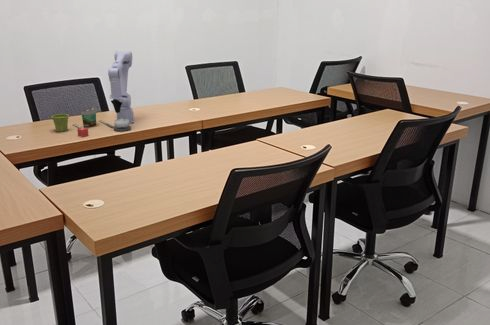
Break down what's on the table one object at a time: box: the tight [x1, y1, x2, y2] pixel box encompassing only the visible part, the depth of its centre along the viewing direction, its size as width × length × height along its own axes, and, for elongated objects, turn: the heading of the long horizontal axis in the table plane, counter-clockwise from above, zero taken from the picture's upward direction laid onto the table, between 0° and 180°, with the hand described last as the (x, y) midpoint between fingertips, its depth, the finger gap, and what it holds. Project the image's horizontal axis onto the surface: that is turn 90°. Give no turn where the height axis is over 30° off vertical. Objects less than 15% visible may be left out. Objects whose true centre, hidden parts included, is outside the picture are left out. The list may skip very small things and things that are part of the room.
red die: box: [76, 126, 90, 138], centre depth 273 cm, size 4×4×4 cm
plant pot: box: [50, 113, 70, 133], centre depth 283 cm, size 9×9×9 cm
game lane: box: [72, 119, 115, 129], centre depth 293 cm, size 18×20×1 cm
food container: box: [80, 106, 98, 128], centre depth 293 cm, size 12×6×10 cm, turn 168°
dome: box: [114, 118, 130, 127], centre depth 286 cm, size 8×8×4 cm
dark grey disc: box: [112, 125, 132, 133], centre depth 287 cm, size 10×10×1 cm
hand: (117, 112), depth 287 cm, fingers closed
